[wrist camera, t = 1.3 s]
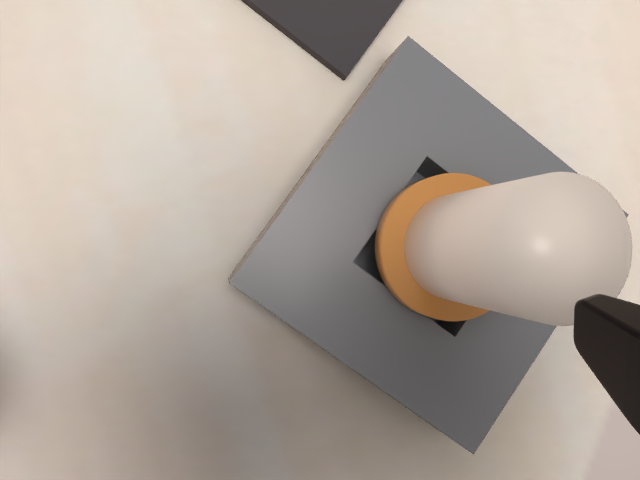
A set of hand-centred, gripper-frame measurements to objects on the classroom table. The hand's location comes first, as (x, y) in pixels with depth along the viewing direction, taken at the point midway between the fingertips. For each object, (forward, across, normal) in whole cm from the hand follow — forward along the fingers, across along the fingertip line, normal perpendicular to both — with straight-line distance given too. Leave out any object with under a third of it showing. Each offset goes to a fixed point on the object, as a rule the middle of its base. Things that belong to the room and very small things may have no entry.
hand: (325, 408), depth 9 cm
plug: (+14, -7, +7) cm, 18 cm away
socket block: (+15, -7, +7) cm, 18 cm away
